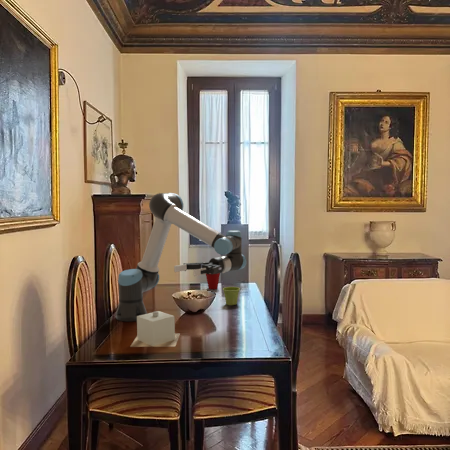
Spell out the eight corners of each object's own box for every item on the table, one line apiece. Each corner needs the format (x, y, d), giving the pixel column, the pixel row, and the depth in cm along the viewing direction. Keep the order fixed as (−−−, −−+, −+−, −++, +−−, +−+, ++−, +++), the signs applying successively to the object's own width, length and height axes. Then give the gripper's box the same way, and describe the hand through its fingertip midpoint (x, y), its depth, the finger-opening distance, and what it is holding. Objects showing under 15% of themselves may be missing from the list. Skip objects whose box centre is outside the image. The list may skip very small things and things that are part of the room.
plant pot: (238, 306, 239) (238, 290, 239) (221, 305, 241) (221, 290, 241) (241, 302, 249) (241, 287, 248) (224, 301, 250) (224, 286, 250)
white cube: (152, 346, 175) (152, 317, 174) (137, 339, 183) (136, 312, 182) (174, 339, 182) (174, 312, 182) (159, 333, 190) (158, 307, 189)
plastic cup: (202, 290, 280) (202, 271, 279) (206, 286, 290) (206, 268, 289) (219, 290, 278) (219, 271, 277) (222, 287, 288) (222, 268, 288)
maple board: (130, 350, 175) (130, 346, 175) (138, 337, 191) (138, 333, 191) (175, 350, 175) (175, 346, 174) (180, 336, 190) (180, 333, 190)
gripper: (238, 276, 200) (202, 283, 185) (202, 269, 218) (167, 275, 203) (238, 260, 199) (202, 265, 185) (202, 254, 217) (167, 259, 203)
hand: (184, 271), depth 194 cm, fingers open, 13 cm apart
